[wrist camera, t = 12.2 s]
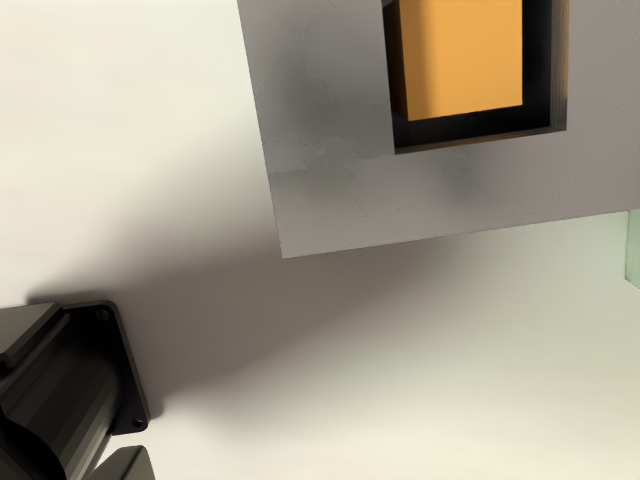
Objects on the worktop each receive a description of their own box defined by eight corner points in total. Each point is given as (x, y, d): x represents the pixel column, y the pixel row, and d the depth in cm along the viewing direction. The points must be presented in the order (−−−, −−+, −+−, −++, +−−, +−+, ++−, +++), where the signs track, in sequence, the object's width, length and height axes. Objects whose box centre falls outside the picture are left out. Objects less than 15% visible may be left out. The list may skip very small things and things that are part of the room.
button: (482, 96, 18) (522, 104, 15) (389, 110, 18) (408, 120, 15) (479, -6, 17) (521, -22, 14) (380, 9, 17) (398, -4, 14)
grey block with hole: (587, 165, 20) (686, 202, 15) (287, 208, 20) (282, 258, 15) (599, -132, 17) (733, -220, 11) (240, -77, 17) (212, -139, 12)
